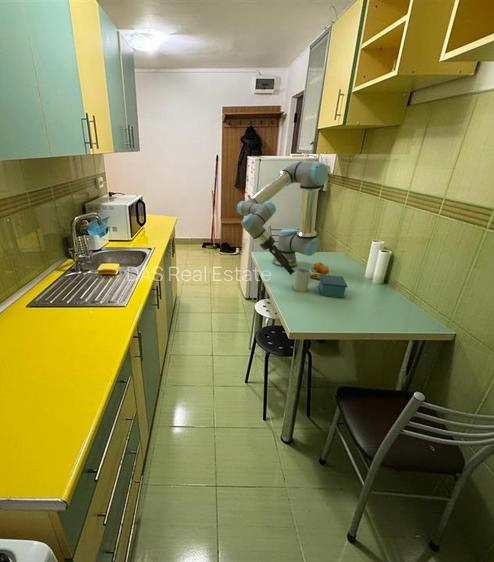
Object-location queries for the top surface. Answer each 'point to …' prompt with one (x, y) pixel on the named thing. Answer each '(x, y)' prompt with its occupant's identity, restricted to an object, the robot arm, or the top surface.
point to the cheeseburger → (318, 270)
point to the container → (332, 285)
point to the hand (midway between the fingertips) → (289, 268)
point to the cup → (301, 279)
